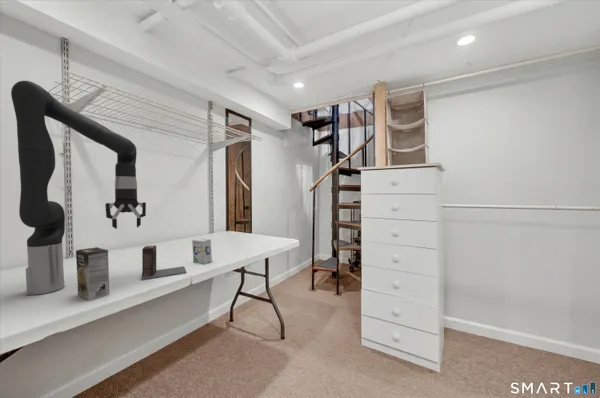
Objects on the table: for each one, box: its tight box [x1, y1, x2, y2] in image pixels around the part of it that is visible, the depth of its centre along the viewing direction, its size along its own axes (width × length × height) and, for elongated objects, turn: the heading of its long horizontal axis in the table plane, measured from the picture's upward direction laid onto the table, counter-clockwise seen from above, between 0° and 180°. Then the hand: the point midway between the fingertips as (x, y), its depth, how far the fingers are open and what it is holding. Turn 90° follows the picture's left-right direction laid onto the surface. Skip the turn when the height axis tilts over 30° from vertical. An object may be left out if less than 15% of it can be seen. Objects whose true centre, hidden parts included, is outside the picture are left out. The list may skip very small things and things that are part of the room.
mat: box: [140, 265, 187, 281], centre depth 112 cm, size 17×10×1 cm, turn 120°
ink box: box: [191, 237, 213, 265], centre depth 129 cm, size 9×5×12 cm, turn 62°
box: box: [141, 245, 157, 277], centre depth 109 cm, size 6×4×12 cm
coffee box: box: [75, 247, 110, 301], centre depth 89 cm, size 9×6×16 cm
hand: (127, 227), depth 105 cm, fingers open, 7 cm apart
